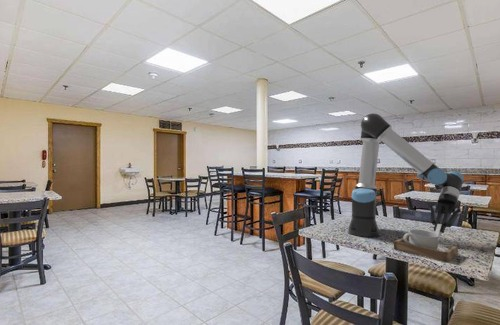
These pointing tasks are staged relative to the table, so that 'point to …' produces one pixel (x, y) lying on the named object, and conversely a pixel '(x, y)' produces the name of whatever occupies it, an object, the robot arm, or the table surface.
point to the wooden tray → (426, 250)
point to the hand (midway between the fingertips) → (436, 237)
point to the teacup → (422, 238)
